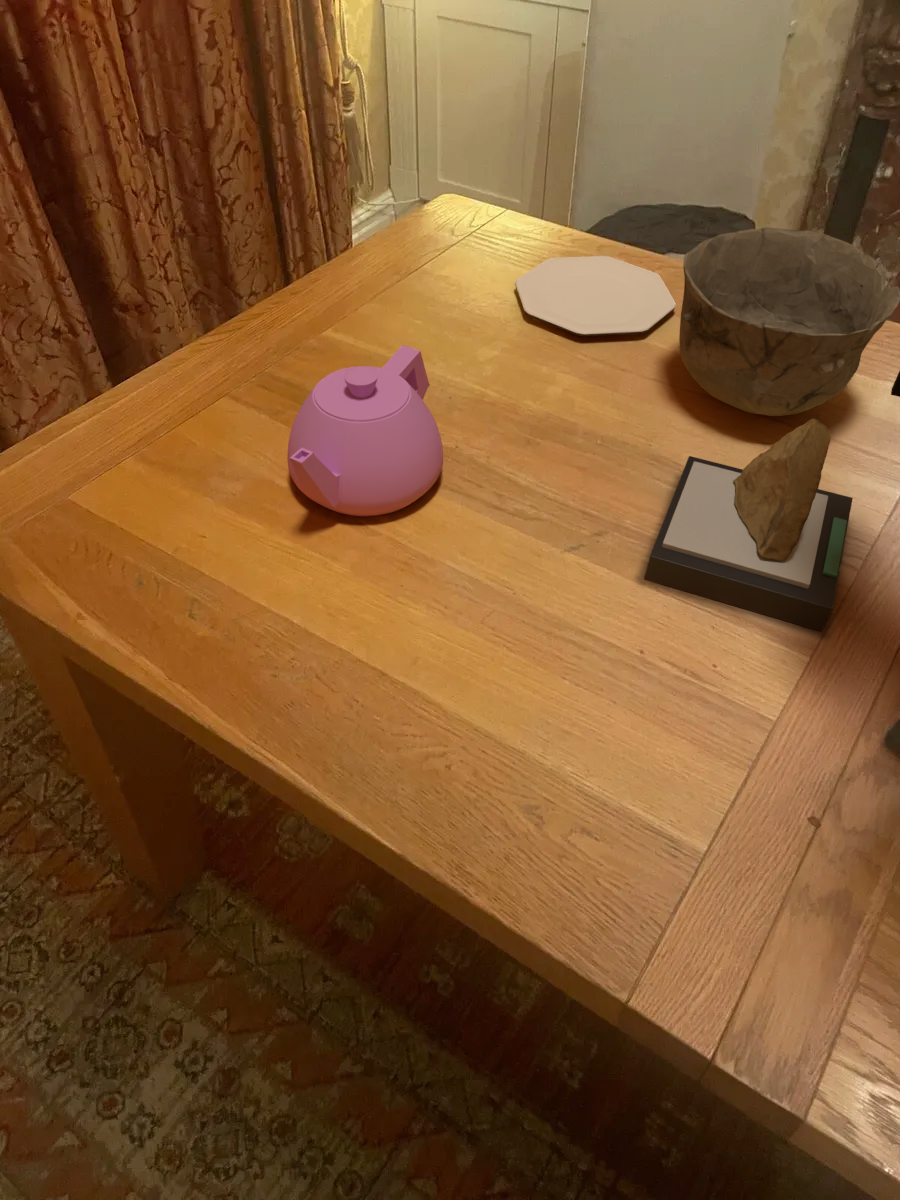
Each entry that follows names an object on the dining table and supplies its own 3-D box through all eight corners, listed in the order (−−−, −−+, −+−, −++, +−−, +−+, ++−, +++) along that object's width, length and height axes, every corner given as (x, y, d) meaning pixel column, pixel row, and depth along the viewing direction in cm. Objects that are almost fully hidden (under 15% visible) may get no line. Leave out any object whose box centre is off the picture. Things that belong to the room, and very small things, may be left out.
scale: (842, 520, 90) (855, 492, 87) (821, 632, 79) (835, 604, 77) (683, 478, 94) (690, 450, 91) (644, 579, 84) (651, 551, 81)
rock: (821, 565, 77) (861, 490, 81) (781, 486, 73) (825, 413, 78) (712, 571, 85) (754, 504, 90) (671, 501, 82) (717, 434, 86)
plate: (696, 298, 120) (698, 287, 118) (619, 360, 109) (621, 349, 108) (570, 253, 128) (571, 242, 127) (487, 307, 117) (488, 296, 116)
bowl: (792, 482, 94) (841, 354, 83) (619, 398, 103) (641, 274, 92) (884, 394, 105) (937, 271, 94) (719, 326, 115) (750, 207, 104)
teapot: (359, 400, 102) (352, 301, 93) (482, 441, 97) (487, 341, 89) (239, 513, 89) (219, 410, 80) (375, 567, 84) (369, 464, 75)
